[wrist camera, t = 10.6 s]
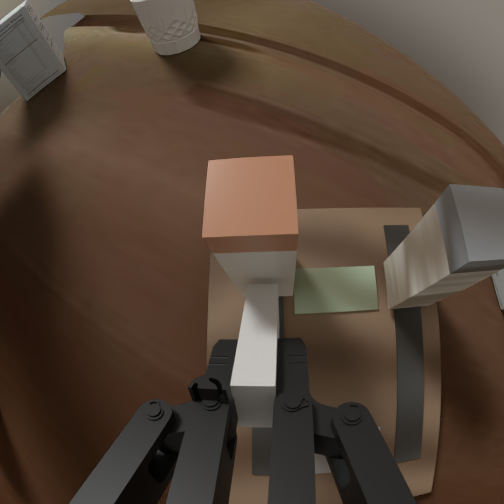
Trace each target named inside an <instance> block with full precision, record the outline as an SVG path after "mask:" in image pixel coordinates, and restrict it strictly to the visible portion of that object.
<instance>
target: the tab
mask: <svg viewBox="0 0 504 504" xmlns="http://www.w3.org/2000/svg"><path fill="white" fill-rule="evenodd" d="M202 238H203V240H204V241H205V243H206V244H207V246H208V247H209V249H210V250H211V252H212V253H213V254H214V256H215V257H216V259H217V260H218V262H219V263H220V265H221V266H222V268H223V269H224V271H225V272H226V273H227V275H228V276H229V278H230V279H231V281H232V282H233V284H234V285H235V286H236V288H237V289H238V291H239V292H240V294H241V295H242V297H246V293H247V287H248V284H278V296H293V289H294V279H295V268H296V257H297V246H298V218H297V203H296V189H295V176H294V164H293V155H289V156H266V157H248V158H234V159H222V160H210V161H208V171H207V182H206V193H205V205H204V218H203V231H202Z"/></svg>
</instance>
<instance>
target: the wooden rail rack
mask: <svg viewBox="0 0 504 504" xmlns="http://www.w3.org/2000/svg"><path fill="white" fill-rule="evenodd" d="M297 218H298V246H297V257H296V268H295V279H294V289H293V296H278V301H279V338H301V339H302V341H303V342H304V343H305V345H306V350H307V364H308V376H309V390H310V394H311V396H312V397H313V398H314V399H315V400H316V401H317V402H319V403H320V404H323V405H326V406H331V407H336V408H337V407H338V406H339V405H341V404H343V403H346V402H356V403H360V404H362V405H364V406H365V407H366V408H367V409H368V410H369V411H370V413H371V415H372V417H373V419H374V421H375V423H376V425H377V426H378V428H379V430H380V432H381V434H382V436H383V438H384V440H385V442H386V444H387V446H388V447H389V449H390V451H391V453H392V455H393V457H394V459H395V461H396V463H397V465H398V467H399V469H400V471H401V473H402V475H403V477H404V479H405V481H406V483H407V485H408V487H409V489H410V491H411V493H412V495H413V497H414V496H418V495H421V494H425V493H428V492H431V490H432V484H433V478H434V472H435V465H436V457H437V449H438V439H439V426H440V410H441V349H440V332H439V319H438V308H437V302H438V301H440V300H443V299H445V298H447V297H449V296H451V295H453V294H455V293H457V292H459V291H462V290H464V289H466V288H468V287H470V286H472V285H474V284H476V283H478V282H480V281H481V280H483V279H485V278H487V277H489V276H491V275H493V274H495V273H497V272H498V271H500V270H502V269H504V191H503V188H493V187H481V186H469V185H455V184H449V186H448V187H447V188H446V189H445V191H444V192H443V193H442V195H441V196H440V197H439V198H438V200H437V201H436V202H435V203H434V205H433V206H432V207H431V208H430V209H429V211H428V212H427V213H426V214H425V216H424V217H422V213H421V209H420V208H325V209H297ZM245 299H246V297H242V295H241V294H240V292H239V291H238V289H237V288H236V286H235V285H234V284H233V282H232V281H231V279H230V278H229V276H228V275H227V273H226V272H225V271H224V269H223V268H222V266H221V265H220V263H219V262H218V260H217V259H216V257H215V256H214V254H213V253H212V252H211V253H210V273H209V297H208V328H207V367H208V365H209V359H210V357H211V352H212V348H213V346H214V345H215V344H216V343H217V342H218V340H219V339H238V338H239V332H240V327H241V321H242V315H243V310H244V304H245ZM236 432H237V446H236V454H235V461H234V468H233V476H232V483H231V490H230V497H229V504H267V502H268V489H269V474H270V458H271V441H272V428H260V427H239V426H238V423H237V430H236ZM314 455H315V487H316V504H343V502H342V500H341V497H340V494H339V492H338V489H337V486H336V484H335V481H334V478H333V476H332V473H331V470H330V468H329V465H328V462H327V460H326V457H325V456H324V455H320V454H315V453H314Z"/></svg>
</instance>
